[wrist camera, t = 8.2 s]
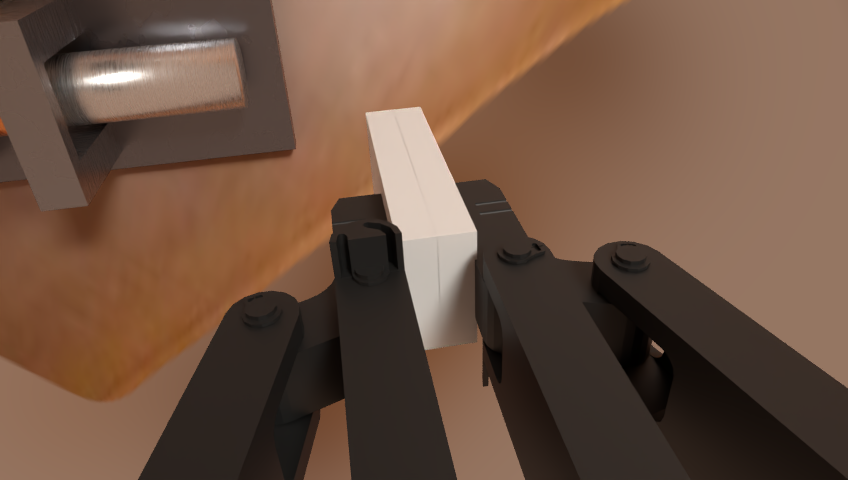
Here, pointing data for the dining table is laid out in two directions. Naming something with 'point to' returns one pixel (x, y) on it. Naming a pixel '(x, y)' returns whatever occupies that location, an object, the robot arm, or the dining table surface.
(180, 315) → the dining table surface
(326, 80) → the dining table surface
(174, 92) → the air tube
